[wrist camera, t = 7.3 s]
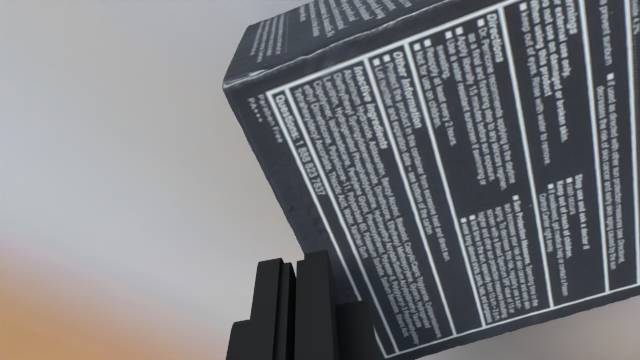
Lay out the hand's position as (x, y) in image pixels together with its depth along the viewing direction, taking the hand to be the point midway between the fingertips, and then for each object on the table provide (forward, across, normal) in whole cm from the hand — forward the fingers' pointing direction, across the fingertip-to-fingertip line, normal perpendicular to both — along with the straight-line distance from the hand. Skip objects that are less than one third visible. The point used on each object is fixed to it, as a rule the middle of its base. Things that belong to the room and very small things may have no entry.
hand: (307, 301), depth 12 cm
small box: (+4, 0, 0) cm, 5 cm away
